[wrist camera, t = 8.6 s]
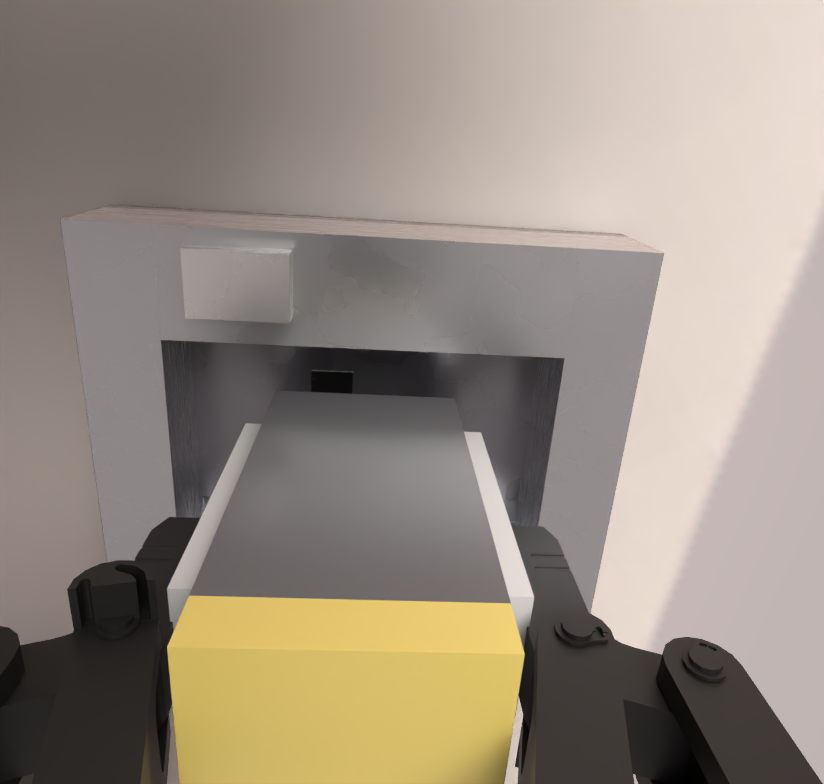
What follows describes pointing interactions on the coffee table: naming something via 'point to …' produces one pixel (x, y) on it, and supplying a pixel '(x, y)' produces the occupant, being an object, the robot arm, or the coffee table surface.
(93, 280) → the socket plate
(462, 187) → the coffee table surface
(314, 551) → the plug
